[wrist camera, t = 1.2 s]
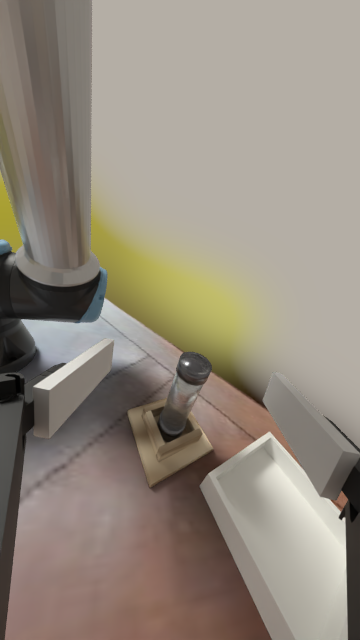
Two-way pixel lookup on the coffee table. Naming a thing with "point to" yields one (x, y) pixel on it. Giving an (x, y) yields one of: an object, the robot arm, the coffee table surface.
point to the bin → (282, 541)
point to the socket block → (165, 443)
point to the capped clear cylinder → (183, 394)
